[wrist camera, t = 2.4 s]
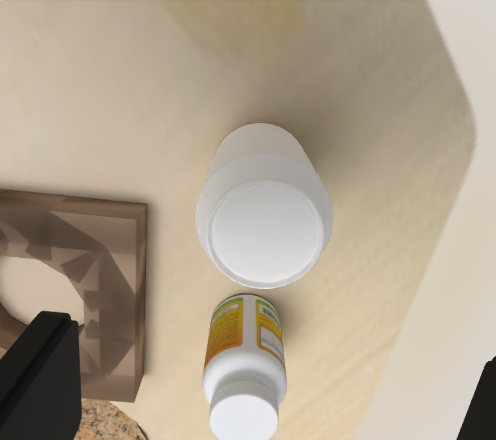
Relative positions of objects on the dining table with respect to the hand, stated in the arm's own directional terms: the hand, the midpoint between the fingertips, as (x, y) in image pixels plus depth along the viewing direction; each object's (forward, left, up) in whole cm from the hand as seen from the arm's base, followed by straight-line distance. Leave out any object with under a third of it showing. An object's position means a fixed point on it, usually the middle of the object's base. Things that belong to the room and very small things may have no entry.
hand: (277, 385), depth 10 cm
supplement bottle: (+12, 0, -21) cm, 24 cm away
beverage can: (0, 0, -21) cm, 21 cm away
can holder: (+11, -15, -20) cm, 27 cm away
